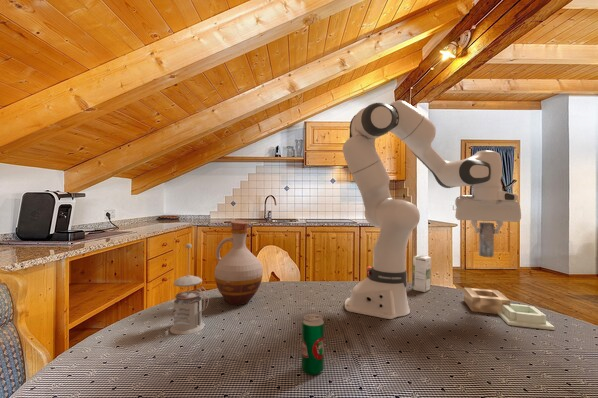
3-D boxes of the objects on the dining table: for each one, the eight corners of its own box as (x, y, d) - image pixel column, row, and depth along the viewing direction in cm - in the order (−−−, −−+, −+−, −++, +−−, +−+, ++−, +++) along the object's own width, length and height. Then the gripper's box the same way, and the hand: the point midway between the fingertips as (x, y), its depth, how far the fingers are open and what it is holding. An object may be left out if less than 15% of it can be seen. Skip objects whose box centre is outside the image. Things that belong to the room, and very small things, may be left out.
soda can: (300, 363, 69) (301, 312, 69) (321, 363, 69) (322, 312, 69) (302, 376, 64) (303, 322, 64) (325, 376, 64) (326, 321, 64)
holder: (508, 324, 92) (508, 313, 92) (494, 310, 104) (494, 301, 104) (554, 330, 89) (554, 318, 89) (534, 315, 100) (535, 304, 100)
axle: (481, 256, 105) (481, 223, 105) (477, 254, 110) (477, 222, 110) (495, 257, 104) (496, 223, 104) (491, 255, 108) (491, 222, 108)
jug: (199, 304, 106) (200, 221, 106) (229, 290, 123) (230, 218, 123) (245, 313, 99) (246, 224, 99) (270, 297, 115) (271, 220, 115)
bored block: (472, 311, 103) (472, 296, 103) (463, 300, 114) (463, 287, 114) (510, 315, 100) (510, 300, 100) (497, 303, 111) (497, 290, 111)
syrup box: (417, 286, 131) (417, 254, 131) (431, 289, 127) (431, 256, 127) (412, 289, 127) (412, 256, 127) (425, 292, 123) (426, 258, 123)
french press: (185, 318, 94) (186, 240, 94) (216, 324, 90) (217, 242, 90) (162, 331, 85) (163, 244, 85) (195, 338, 81) (196, 247, 81)
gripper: (457, 195, 107) (456, 233, 107) (523, 195, 101) (522, 235, 101) (453, 195, 113) (453, 231, 113) (515, 195, 107) (515, 233, 107)
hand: (486, 233), depth 107 cm, fingers closed on axle, 4 cm apart
